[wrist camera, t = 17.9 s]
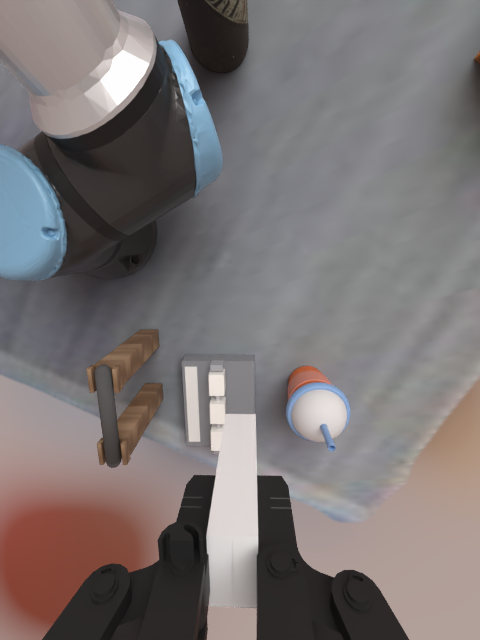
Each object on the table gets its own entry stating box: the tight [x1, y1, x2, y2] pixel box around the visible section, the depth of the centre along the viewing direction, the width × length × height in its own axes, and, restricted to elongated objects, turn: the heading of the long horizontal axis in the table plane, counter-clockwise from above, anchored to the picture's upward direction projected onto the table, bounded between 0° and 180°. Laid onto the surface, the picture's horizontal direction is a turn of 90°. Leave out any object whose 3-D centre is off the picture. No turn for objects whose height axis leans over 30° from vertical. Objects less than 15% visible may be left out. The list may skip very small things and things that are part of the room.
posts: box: [87, 330, 163, 465], centre depth 46 cm, size 13×4×17 cm, turn 1°
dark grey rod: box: [95, 364, 121, 468], centre depth 38 cm, size 14×2×2 cm, turn 1°
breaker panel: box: [182, 355, 255, 454], centre depth 52 cm, size 16×12×5 cm
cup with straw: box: [286, 366, 350, 451], centre depth 45 cm, size 9×9×18 cm
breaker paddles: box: [209, 369, 226, 451], centre depth 50 cm, size 14×2×2 cm, turn 1°
